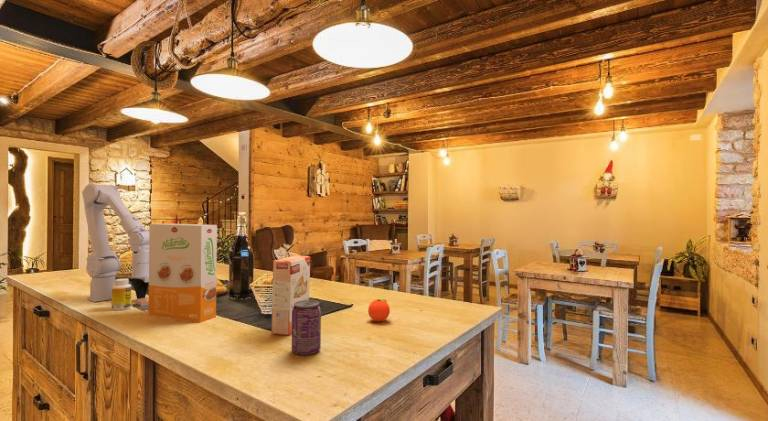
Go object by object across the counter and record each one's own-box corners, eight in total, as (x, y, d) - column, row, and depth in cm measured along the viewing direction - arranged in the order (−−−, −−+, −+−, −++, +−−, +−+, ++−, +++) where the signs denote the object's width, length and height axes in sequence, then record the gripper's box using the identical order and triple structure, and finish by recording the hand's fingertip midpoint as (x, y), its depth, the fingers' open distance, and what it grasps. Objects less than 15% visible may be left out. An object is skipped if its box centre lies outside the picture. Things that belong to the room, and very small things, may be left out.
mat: (132, 305, 136) (132, 304, 136) (159, 300, 143) (159, 300, 143) (143, 310, 129) (143, 309, 129) (171, 305, 136) (171, 304, 136)
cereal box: (215, 317, 122) (217, 225, 122) (200, 322, 116) (201, 225, 116) (165, 310, 130) (166, 223, 130) (148, 314, 124) (149, 224, 124)
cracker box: (290, 336, 105) (291, 261, 105) (270, 334, 106) (271, 260, 106) (310, 321, 118) (311, 255, 118) (292, 320, 120) (293, 254, 120)
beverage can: (308, 344, 99) (308, 298, 99) (326, 350, 94) (327, 302, 94) (285, 351, 93) (286, 303, 93) (303, 359, 89) (304, 308, 89)
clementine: (378, 316, 126) (378, 294, 126) (395, 319, 122) (395, 297, 122) (363, 321, 119) (363, 299, 119) (381, 325, 115) (381, 302, 115)
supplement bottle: (126, 310, 129) (127, 280, 129) (108, 311, 128) (108, 281, 128) (133, 306, 135) (134, 277, 135) (116, 307, 133) (116, 278, 133)
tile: (134, 299, 137) (141, 302, 133) (153, 296, 142) (159, 299, 138) (134, 303, 137) (141, 306, 133) (153, 300, 142) (159, 303, 138)
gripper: (160, 263, 140) (160, 300, 140) (146, 260, 149) (145, 294, 149) (138, 265, 135) (138, 303, 135) (125, 261, 144) (125, 297, 144)
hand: (140, 299), depth 142 cm, fingers closed
